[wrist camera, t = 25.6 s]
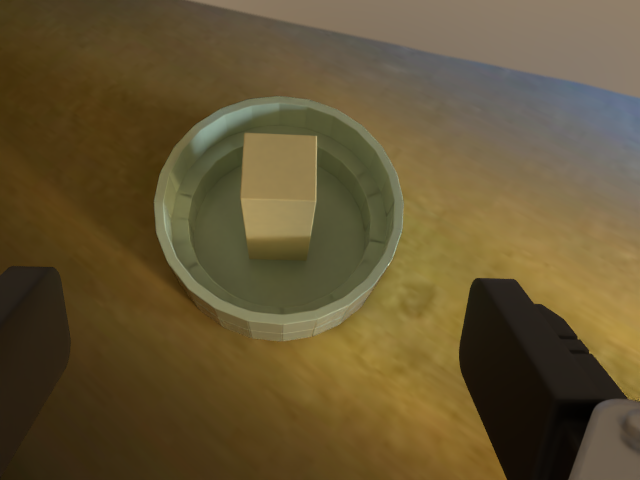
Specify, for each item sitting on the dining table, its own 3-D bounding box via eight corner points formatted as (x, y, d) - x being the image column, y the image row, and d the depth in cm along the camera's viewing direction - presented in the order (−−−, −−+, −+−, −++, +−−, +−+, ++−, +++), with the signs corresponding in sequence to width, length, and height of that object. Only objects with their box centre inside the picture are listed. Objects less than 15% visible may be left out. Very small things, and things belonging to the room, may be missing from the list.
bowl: (363, 132, 43) (376, 85, 37) (406, 323, 38) (428, 302, 32) (164, 154, 41) (146, 108, 36) (181, 359, 36) (163, 342, 31)
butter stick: (307, 208, 40) (317, 135, 31) (306, 261, 38) (316, 201, 29) (251, 206, 40) (244, 131, 30) (248, 259, 38) (239, 198, 29)
